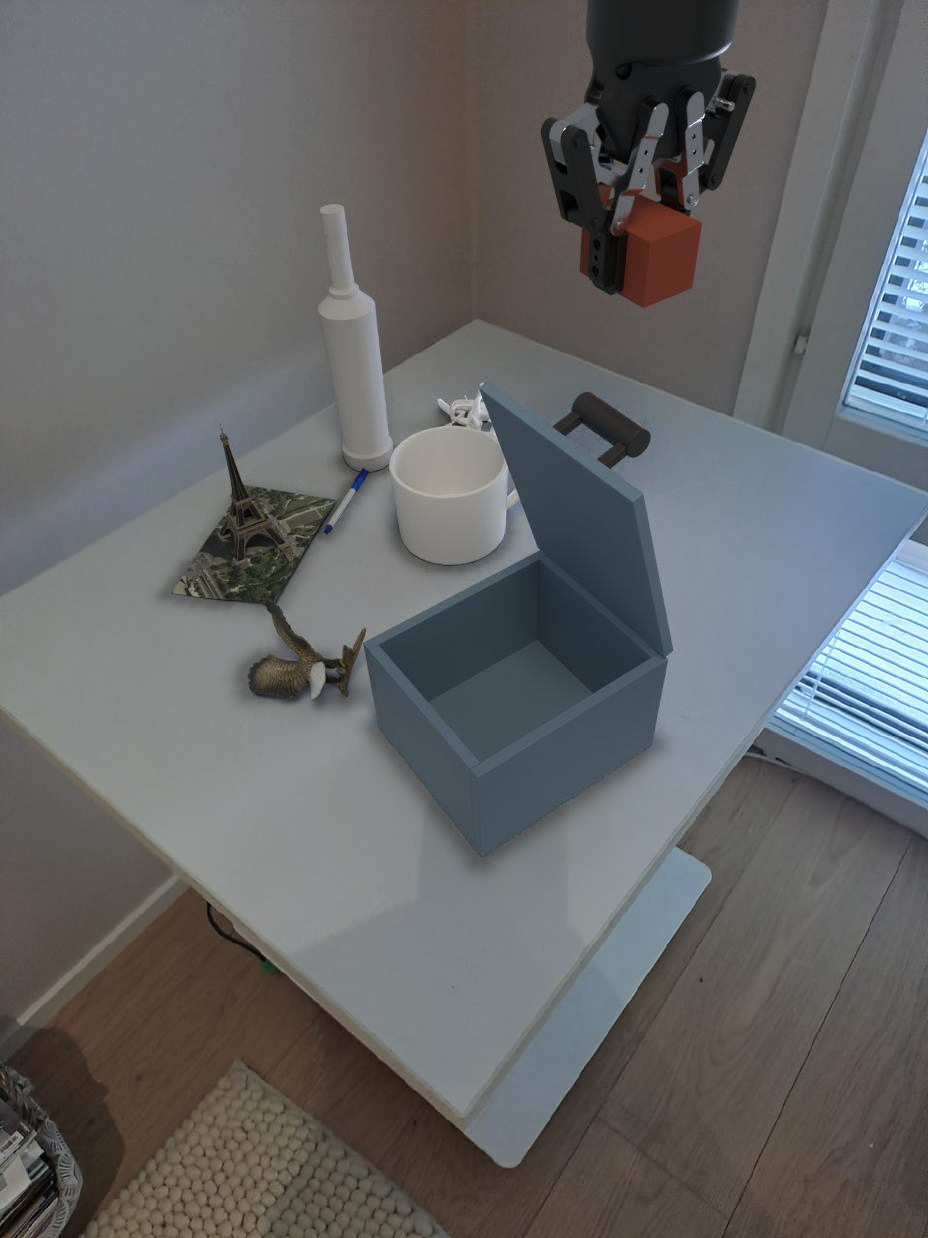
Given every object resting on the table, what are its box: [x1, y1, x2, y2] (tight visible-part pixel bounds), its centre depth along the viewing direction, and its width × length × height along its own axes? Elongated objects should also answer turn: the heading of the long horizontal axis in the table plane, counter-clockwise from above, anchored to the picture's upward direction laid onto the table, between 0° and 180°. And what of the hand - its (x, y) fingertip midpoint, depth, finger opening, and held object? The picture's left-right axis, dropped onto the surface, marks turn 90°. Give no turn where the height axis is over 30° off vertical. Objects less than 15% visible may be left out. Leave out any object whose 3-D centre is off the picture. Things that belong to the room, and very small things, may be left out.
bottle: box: [317, 203, 394, 473], centre depth 83 cm, size 5×5×25 cm
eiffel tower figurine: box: [171, 423, 337, 604], centre depth 79 cm, size 15×10×13 cm
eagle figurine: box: [247, 597, 367, 700], centre depth 70 cm, size 8×7×9 cm
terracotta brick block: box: [579, 193, 703, 309], centre depth 54 cm, size 6×4×4 cm, turn 34°
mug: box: [388, 425, 520, 566], centre depth 81 cm, size 13×10×8 cm
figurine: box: [436, 382, 498, 440], centre depth 94 cm, size 3×8×8 cm
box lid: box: [478, 380, 674, 657], centre depth 57 cm, size 16×14×5 cm
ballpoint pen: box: [323, 468, 370, 535], centre depth 88 cm, size 10×1×1 cm, turn 163°
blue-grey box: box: [362, 549, 669, 858], centre depth 64 cm, size 16×14×10 cm
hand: (635, 276), depth 56 cm, fingers closed on terracotta brick block, 4 cm apart
